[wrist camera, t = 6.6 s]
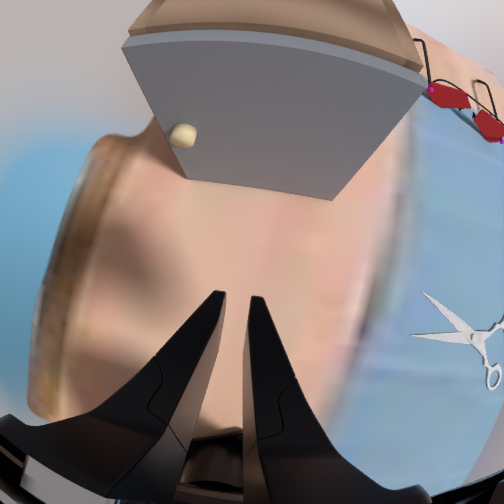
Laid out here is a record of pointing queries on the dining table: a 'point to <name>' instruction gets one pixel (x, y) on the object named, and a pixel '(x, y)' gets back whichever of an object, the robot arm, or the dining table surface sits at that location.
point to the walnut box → (293, 23)
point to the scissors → (467, 338)
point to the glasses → (464, 104)
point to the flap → (269, 106)
